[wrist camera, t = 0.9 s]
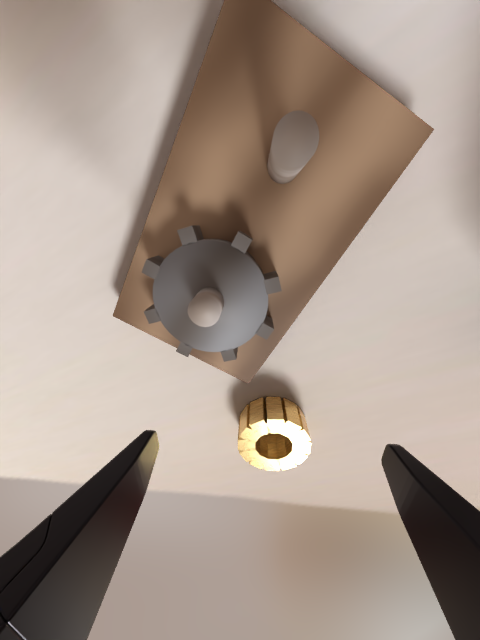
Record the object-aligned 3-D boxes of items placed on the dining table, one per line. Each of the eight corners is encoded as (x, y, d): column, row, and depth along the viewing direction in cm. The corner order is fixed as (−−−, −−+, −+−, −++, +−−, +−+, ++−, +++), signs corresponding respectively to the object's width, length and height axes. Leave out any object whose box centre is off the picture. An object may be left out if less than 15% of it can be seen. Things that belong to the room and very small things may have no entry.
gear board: (411, 141, 15) (519, 83, 9) (248, 370, 22) (246, 424, 16) (237, 8, 13) (221, -180, 7) (125, 307, 21) (72, 341, 15)
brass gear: (317, 414, 24) (325, 439, 21) (281, 452, 27) (284, 479, 24) (261, 386, 23) (261, 408, 20) (228, 428, 26) (225, 453, 23)
